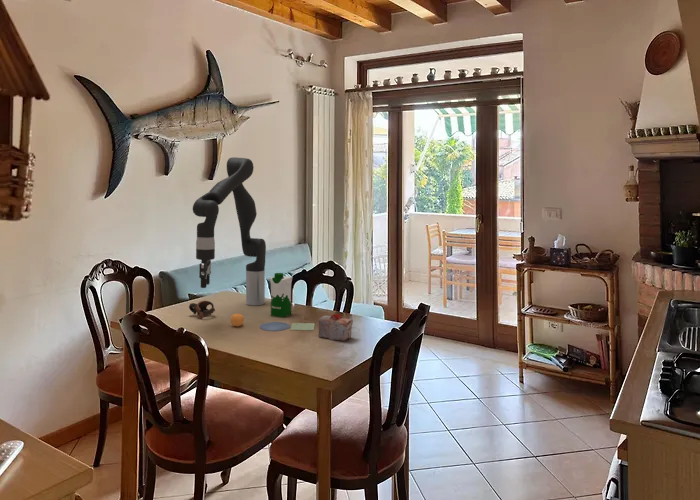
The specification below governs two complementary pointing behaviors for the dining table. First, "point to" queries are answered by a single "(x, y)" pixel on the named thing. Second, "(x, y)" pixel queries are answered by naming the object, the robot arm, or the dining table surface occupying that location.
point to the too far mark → (302, 326)
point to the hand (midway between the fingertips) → (205, 286)
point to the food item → (335, 327)
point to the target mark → (274, 326)
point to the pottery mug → (202, 308)
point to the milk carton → (280, 295)
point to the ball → (237, 320)
